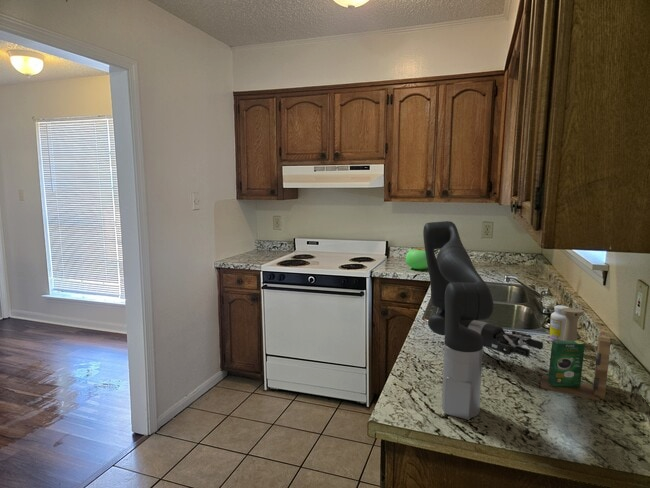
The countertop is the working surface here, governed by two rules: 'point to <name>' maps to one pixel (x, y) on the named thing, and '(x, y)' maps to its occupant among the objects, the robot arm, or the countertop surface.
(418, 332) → the countertop surface
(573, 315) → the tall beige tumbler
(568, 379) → the coffee box
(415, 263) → the green round pot
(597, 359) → the wooden l-shaped bracket
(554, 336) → the supplement bottle
